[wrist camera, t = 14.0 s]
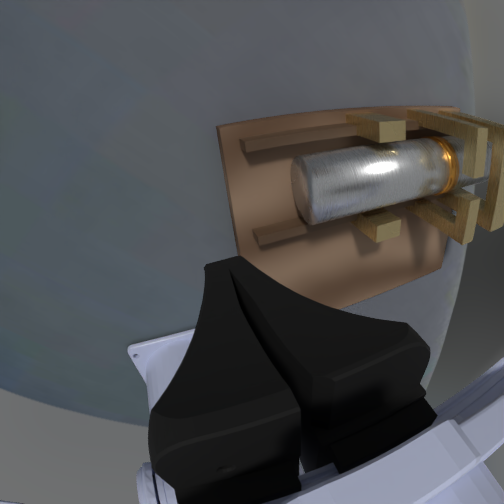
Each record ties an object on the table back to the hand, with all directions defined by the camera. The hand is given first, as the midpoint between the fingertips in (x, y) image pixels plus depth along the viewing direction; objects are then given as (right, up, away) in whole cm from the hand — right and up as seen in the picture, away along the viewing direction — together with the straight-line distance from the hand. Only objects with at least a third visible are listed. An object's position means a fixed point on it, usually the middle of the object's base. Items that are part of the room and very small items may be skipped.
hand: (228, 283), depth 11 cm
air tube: (+11, +7, +8) cm, 15 cm away
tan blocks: (+12, +8, +10) cm, 18 cm away
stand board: (+9, +4, +12) cm, 16 cm away
